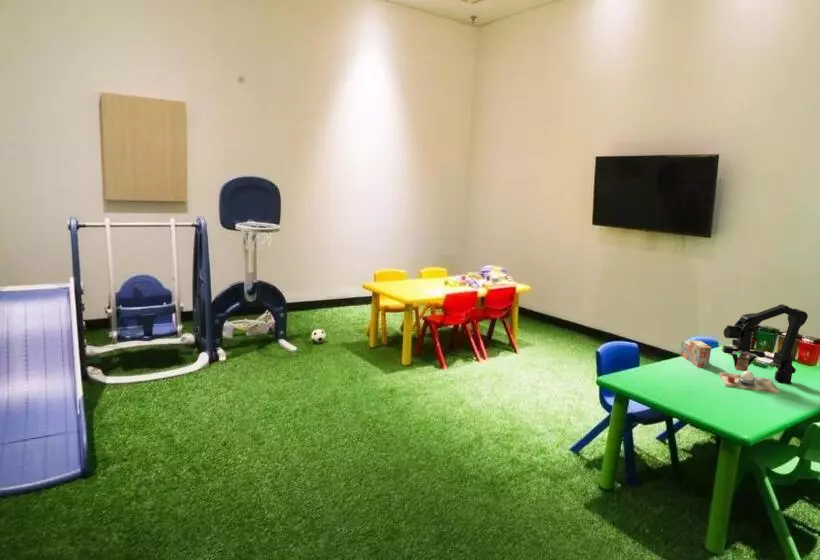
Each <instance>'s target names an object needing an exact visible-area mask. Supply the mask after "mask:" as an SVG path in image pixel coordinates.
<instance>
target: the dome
mask: <svg viewBox="0 0 820 560" xmlns="http://www.w3.org/2000/svg"><path fill="white" fill-rule="evenodd" d="M740 375H741V377H740V378H739V381H741V382H743V383H747V384H754V382H755V381H754V380H753V379H754V377H755V375H754V374H753V372H752V371H750V370H747V371H741V374H740Z"/></svg>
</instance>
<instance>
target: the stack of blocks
mask: <svg viewBox="0 0 820 560" xmlns="http://www.w3.org/2000/svg"><path fill="white" fill-rule="evenodd" d="M711 351H712V347H711V346H709V345H708V344H706V343H705V342H703V341H701V340H682V341H681V348H680V356H681V357H682V358H684V359H685V360H686V361H689V363H691V364H692V365H694V366H695V367H697V368H709V366H710V357H711Z"/></svg>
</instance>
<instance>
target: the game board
mask: <svg viewBox="0 0 820 560" xmlns="http://www.w3.org/2000/svg"><path fill="white" fill-rule="evenodd" d="M718 376H719V378H720V380H721V382H722V383H723V385H724V386H725V387H728V388H729V387H730V388H737V389H744V390H750V391H757V392H764V393H769V394H771V393H772V394H778V395H780V392H781V391H780V389H779V388H778V387H777V386H776V384H775V383H774V382H773V381H772V379H770V378H768V377H767V378H766V377H758V376H754V379H753V380H754V381H755V382H754V384H747V383H743V382H741V381H739V378H740V377H741V374H736V373H729V372H721V371H719V372H718Z"/></svg>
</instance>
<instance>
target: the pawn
mask: <svg viewBox="0 0 820 560" xmlns="http://www.w3.org/2000/svg"><path fill="white" fill-rule="evenodd" d="M748 363H749V360H748V357H747V356H746V354H745V353H739V356H737V364H736V366H735V365H734V369H735V370H736V371H739V372H744V371H748V368H749V366H748Z"/></svg>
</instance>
